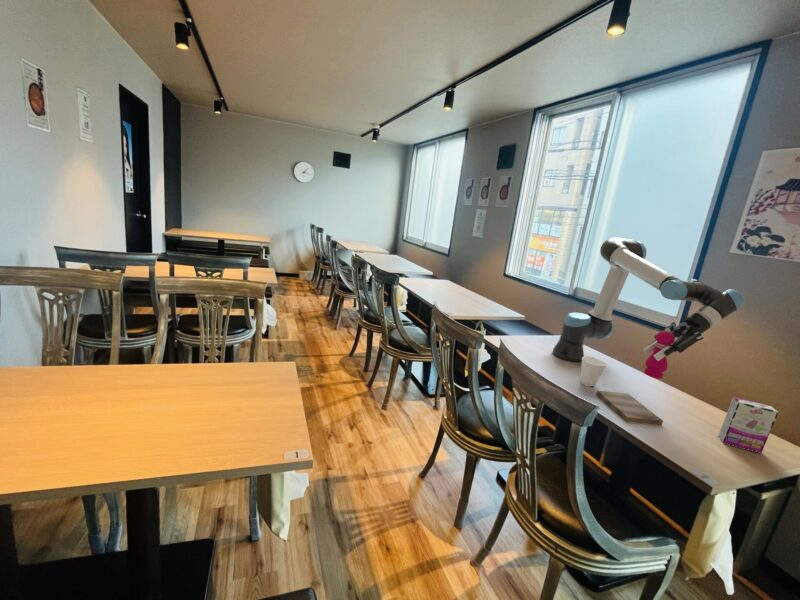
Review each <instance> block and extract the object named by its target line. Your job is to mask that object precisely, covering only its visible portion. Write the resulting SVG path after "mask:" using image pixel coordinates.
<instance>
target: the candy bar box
mask: <svg viewBox="0 0 800 600" xmlns="http://www.w3.org/2000/svg"><path fill="white" fill-rule="evenodd" d="M778 416H779V411H778V410H777V409H776V408H774V407H773V406H771V405H767V404H764V403H759V402H755V401H750V400H747V399H744V398H739V397H735V396H733V397H732V399H731V401H730V404H729V406H728V410H727V412H726V415H725V418H724V420H723V423H722V425H721V428H720V430H719V432H718V435H717V437H718V439H719V438H720V439H721V440H720V439H719V440H720V441H721V443H722V444H724V443H726V444H725V445H728V444H730V445H729V446H731V445H734V446H733V447H735V446H737V447H736V448H738V447H741V448H740V449H742V448H745V449H744V450H746V449H749V450H753V451H757V452H760V453H761V454H762V452H763V450H764V448H765V446H766V444H767V442H768V439H769V436H770V433H771V431H772V429H773V427H774V424H775V422H776V419H777V417H778ZM749 450H748V451H749ZM753 451H752V452H753ZM760 453H759V454H760Z"/></svg>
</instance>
